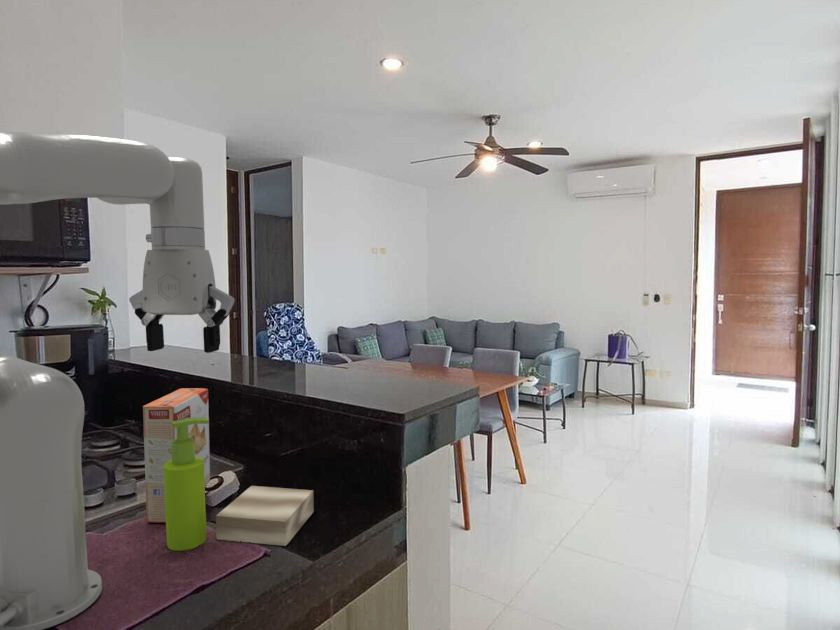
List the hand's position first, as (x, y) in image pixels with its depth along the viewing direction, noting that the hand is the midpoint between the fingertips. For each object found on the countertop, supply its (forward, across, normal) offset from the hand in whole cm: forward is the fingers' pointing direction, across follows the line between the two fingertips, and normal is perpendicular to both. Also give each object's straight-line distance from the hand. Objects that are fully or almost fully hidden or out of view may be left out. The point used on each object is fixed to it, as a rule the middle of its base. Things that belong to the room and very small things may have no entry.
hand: (183, 350), depth 83 cm
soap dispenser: (+31, 0, 0) cm, 31 cm away
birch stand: (+31, +10, +7) cm, 33 cm away
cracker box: (+31, -9, +11) cm, 34 cm away
